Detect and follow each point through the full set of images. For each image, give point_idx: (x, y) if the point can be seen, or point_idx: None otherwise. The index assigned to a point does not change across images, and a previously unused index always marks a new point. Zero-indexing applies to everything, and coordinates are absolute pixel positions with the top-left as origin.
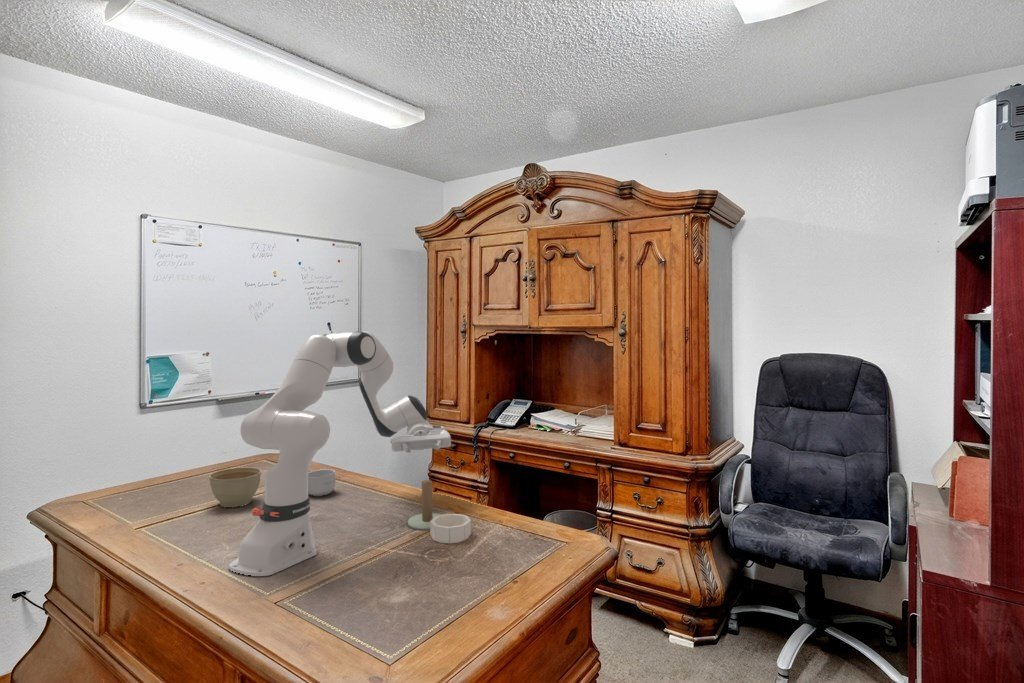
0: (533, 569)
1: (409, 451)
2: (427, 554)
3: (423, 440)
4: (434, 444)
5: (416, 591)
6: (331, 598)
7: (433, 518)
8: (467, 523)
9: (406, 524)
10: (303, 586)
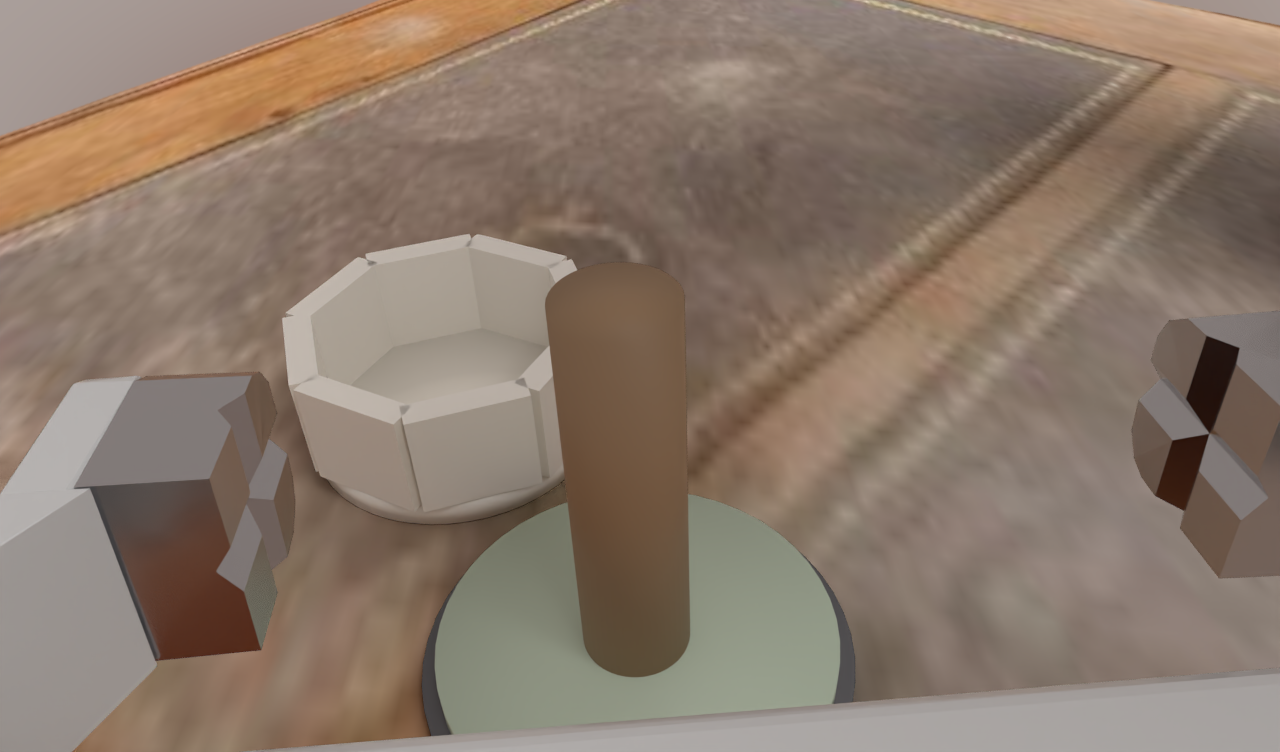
0: (161, 160)
1: (1162, 415)
2: None
3: (752, 729)
4: (227, 427)
5: (663, 89)
6: (971, 74)
7: (572, 662)
8: (328, 282)
9: (844, 623)
10: (1139, 118)
